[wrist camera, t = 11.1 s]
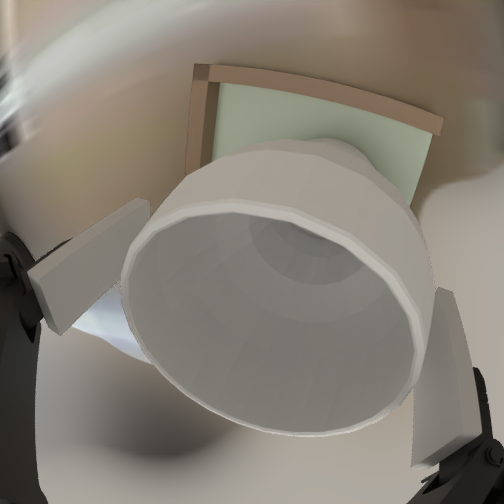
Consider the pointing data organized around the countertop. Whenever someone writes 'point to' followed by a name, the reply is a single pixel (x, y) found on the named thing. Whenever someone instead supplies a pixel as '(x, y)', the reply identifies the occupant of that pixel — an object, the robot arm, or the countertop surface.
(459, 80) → the countertop surface
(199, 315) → the cup
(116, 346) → the countertop surface
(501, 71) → the countertop surface
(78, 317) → the robot arm
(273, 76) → the rail board
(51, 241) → the countertop surface
